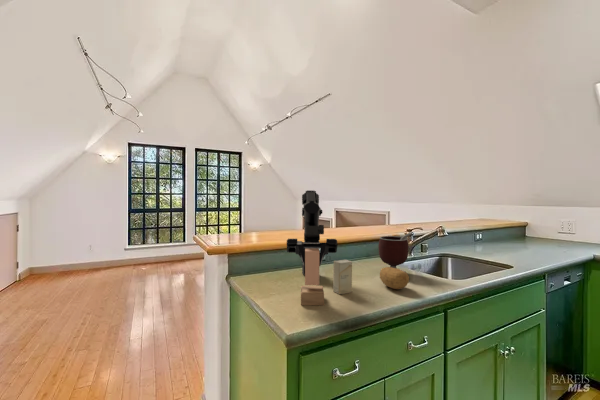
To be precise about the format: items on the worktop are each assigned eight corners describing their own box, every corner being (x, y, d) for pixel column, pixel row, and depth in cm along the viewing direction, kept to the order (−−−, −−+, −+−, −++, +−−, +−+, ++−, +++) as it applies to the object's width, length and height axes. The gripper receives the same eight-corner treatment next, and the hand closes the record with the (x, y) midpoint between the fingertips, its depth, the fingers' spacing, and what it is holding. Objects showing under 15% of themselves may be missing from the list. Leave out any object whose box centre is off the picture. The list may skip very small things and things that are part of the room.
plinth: (301, 296, 106) (301, 285, 106) (322, 296, 106) (322, 285, 106) (300, 305, 98) (300, 292, 98) (324, 305, 98) (324, 292, 98)
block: (305, 280, 105) (305, 248, 104) (318, 280, 105) (318, 248, 104) (305, 285, 100) (305, 251, 99) (319, 285, 100) (319, 251, 99)
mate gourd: (378, 276, 133) (379, 233, 133) (377, 268, 147) (378, 229, 146) (414, 278, 129) (414, 234, 129) (409, 270, 143) (410, 230, 142)
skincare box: (339, 294, 108) (339, 263, 108) (332, 291, 112) (332, 260, 112) (352, 292, 111) (352, 261, 111) (345, 288, 115) (345, 259, 115)
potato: (391, 281, 125) (392, 263, 125) (415, 291, 112) (415, 271, 112) (373, 284, 121) (373, 265, 121) (395, 295, 108) (395, 274, 108)
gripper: (286, 217, 106) (284, 252, 95) (337, 217, 105) (340, 253, 95) (288, 234, 114) (286, 269, 103) (334, 235, 113) (337, 270, 103)
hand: (312, 265), depth 101 cm, fingers closed on block, 5 cm apart
